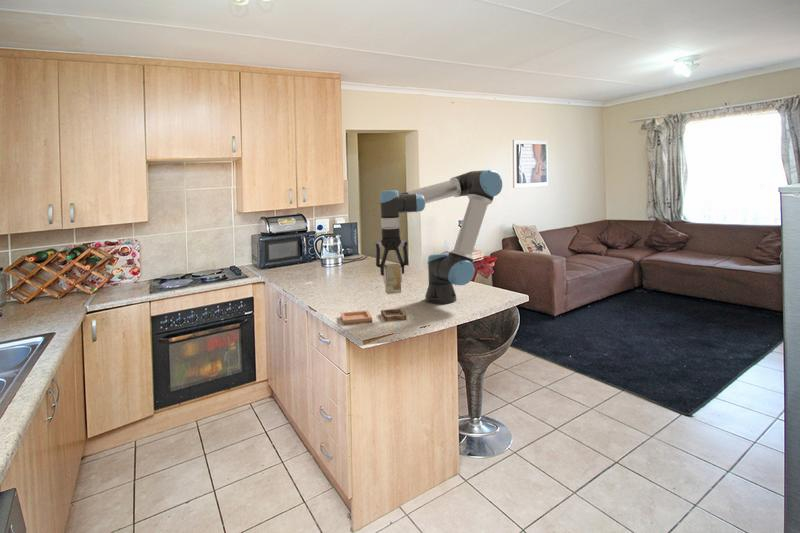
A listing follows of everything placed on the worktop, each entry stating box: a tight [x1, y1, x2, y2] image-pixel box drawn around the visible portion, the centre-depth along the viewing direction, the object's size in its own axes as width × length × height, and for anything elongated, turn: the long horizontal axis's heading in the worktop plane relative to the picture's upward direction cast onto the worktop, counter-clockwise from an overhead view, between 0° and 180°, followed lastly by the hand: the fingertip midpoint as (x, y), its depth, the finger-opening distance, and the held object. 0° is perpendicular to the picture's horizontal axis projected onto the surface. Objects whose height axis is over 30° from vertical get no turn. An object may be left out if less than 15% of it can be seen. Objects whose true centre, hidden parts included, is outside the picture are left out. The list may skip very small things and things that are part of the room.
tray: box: [340, 310, 373, 326], centre depth 185 cm, size 12×12×2 cm
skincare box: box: [384, 263, 402, 295], centre depth 184 cm, size 6×4×12 cm
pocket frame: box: [380, 308, 408, 322], centre depth 187 cm, size 9×11×2 cm
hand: (392, 282), depth 184 cm, fingers closed on skincare box, 6 cm apart
